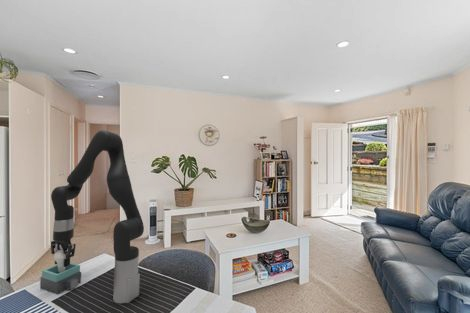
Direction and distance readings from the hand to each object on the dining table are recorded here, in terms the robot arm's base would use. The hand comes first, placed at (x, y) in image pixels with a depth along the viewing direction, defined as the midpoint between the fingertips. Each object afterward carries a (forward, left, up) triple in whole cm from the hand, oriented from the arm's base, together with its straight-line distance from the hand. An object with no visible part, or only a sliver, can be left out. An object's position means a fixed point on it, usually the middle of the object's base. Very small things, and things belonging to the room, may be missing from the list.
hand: (62, 264), depth 100 cm
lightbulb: (0, 0, -4) cm, 4 cm away
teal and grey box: (-1, 0, -10) cm, 10 cm away
